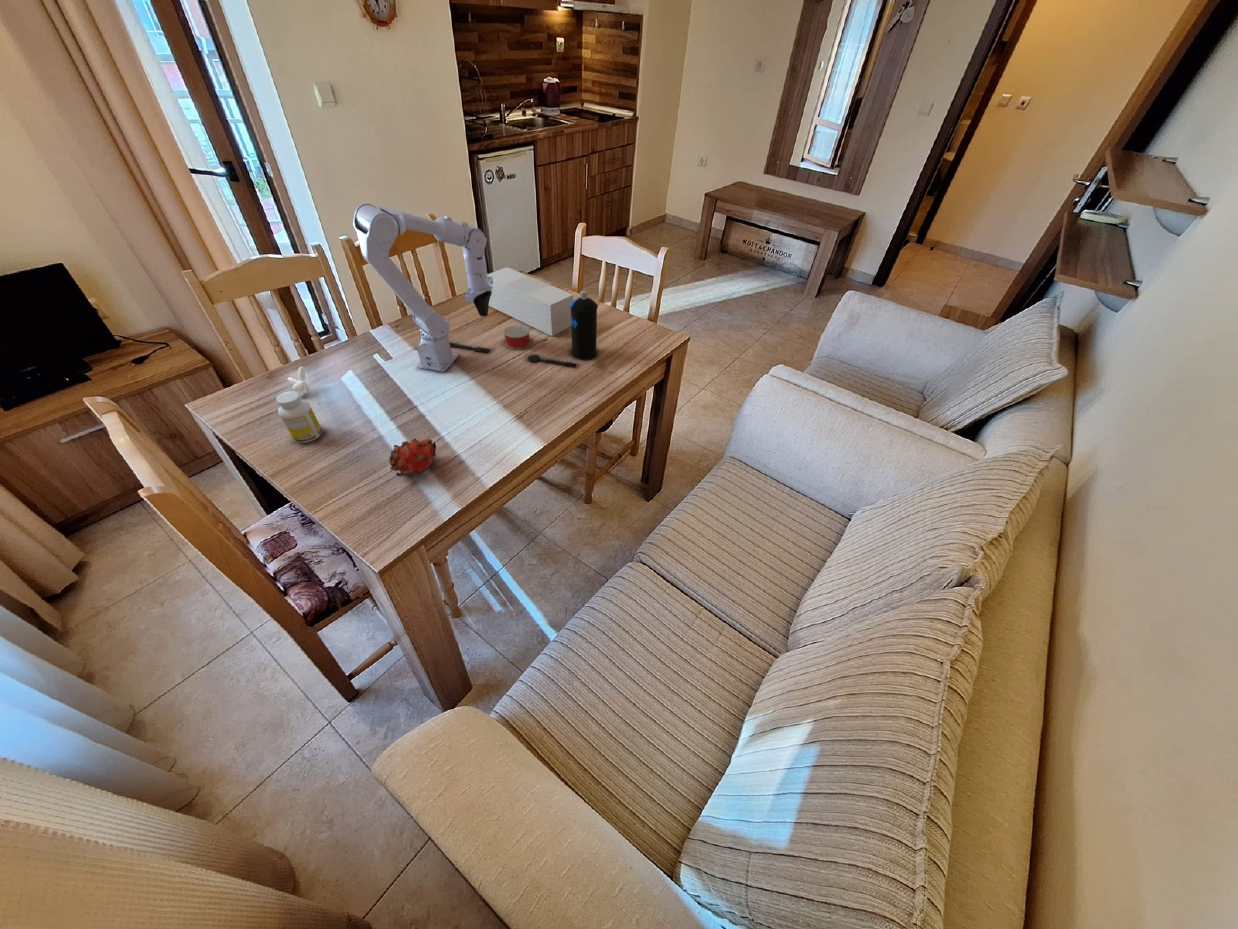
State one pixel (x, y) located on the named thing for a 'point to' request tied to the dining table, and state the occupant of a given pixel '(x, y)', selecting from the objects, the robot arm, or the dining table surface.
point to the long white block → (531, 301)
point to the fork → (470, 348)
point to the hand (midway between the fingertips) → (483, 315)
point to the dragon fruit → (412, 456)
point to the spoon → (550, 361)
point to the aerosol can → (584, 327)
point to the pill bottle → (298, 417)
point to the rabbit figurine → (299, 382)
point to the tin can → (517, 337)
